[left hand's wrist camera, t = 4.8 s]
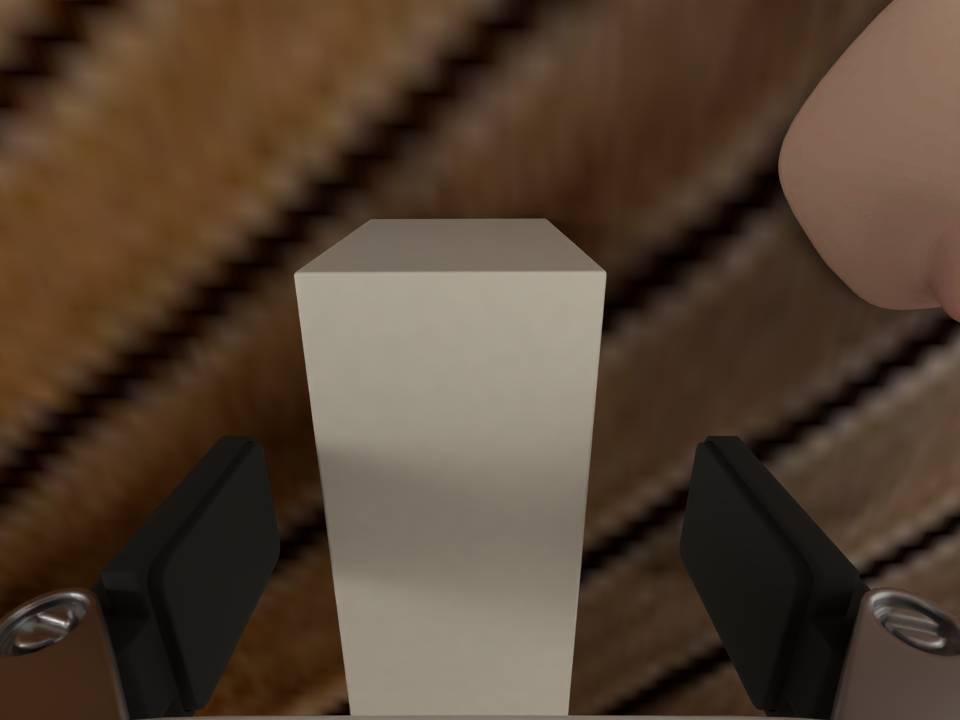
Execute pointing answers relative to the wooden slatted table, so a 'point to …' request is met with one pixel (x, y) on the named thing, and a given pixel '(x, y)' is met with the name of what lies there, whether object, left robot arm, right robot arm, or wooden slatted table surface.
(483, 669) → the post
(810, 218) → the anatomical model
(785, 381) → the wooden slatted table surface
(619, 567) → the wooden slatted table surface
